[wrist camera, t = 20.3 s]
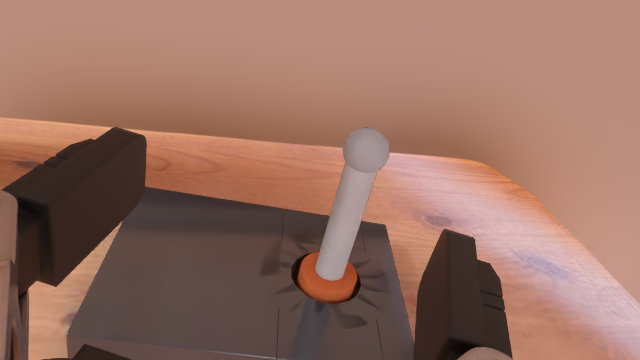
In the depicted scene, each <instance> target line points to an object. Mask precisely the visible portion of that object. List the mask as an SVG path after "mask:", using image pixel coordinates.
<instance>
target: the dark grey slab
mask: <svg viewBox="0 0 640 360" xmlns="http://www.w3.org/2000/svg"><path fill="white" fill-rule="evenodd" d="M329 218H330V216H327V215H320V214H314V213H308V212H301V211H295V210H289V209H282V208H276V207H270V206H264V205H257V204H251V203H245V202H238V201H232V200H226V199H219V198H213V197H207V196H200V195H194V194H188V193H182V192H175V191H169V190H163V189H156V188H150V187H145V188H144V192H143V195H142V198H141V200H140V202H139V204H138V205H137V206H136V207H135V208H134V209H133V210H132V211H131V212H130V213H129V214H128V215H127V216H126V217H125V218H124V220H123V222H122V224H121V226H120V228H119V230H118V232H117V234H116V236H115V238H114V240H113V242H112V244H111V246H110V248H109V250H108V252H107V254H106V256H105V258H104V260H103V262H102V264H101V266H100V268H99V270H98V272H97V274H96V276H95V278H94V280H93V282H92V284H91V286H90V288H89V290H88V292H87V294H86V296H85V298H84V300H83V302H82V304H81V306H80V308H79V310H78V312H77V314H76V316H75V318H74V320H73V322H72V324H71V326H70V328H69V330H68V332H67V334H66V337H67V351H68V358H73V357H74V356H75V355H76V353H77V352H78V351H79V350H80V348H81V347H82V346H83V345H84V343H85V344H88V345H91V346H94V347H97V348H99V349H102V350H105V351H108V352H111V353H114V354H117V355H120V356H123V357H126V358H129V359H132V360H413V359H414V342H413V338H412V333H411V329H410V325H409V321H408V317H407V312H406V308H405V304H404V300H403V296H402V292H401V287H400V283H399V279H398V275H397V271H396V267H395V262H394V258H393V254H392V250H391V246H390V241H389V237H388V233H387V229H386V225H384V224H377V223H371V222H365V221H361V223H360V226H359V229H358V232H357V235H356V238H355V241H354V244H353V247H352V250H351V253H350V256H349V259H348V261H349V262H350V263H351V264H352V265H353V267H354V268H355V270H356V273H357V282H356V285H355V287H354V290H353V293H352V296H351V298H352V299H351V300H350V301H347V302H342V303H337V304H333V303H325V302H319V301H317V300H315V299H313V298H310V297H308V296H307V295H305V294H304V293H303V292H302V291H301V290H300V289H298V288H297V287H296V285H295V283H294V281H293V280H294V279H296V278H298V274H299V270H300V267H301V263H302V261H303V260H304V258H305V257H306V256H308V255H310V254H312V253H315V252H320V249H321V246H322V242H323V239H324V235H325V232H326V228H327V225H328V221H329Z"/></svg>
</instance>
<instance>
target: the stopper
mask: <svg viewBox="0 0 640 360" xmlns="http://www.w3.org/2000/svg"><path fill="white" fill-rule="evenodd" d="M389 153H390V148H389V143H388V141H387V139H386V138H385V136H384V135H383V134H382V133H381V132H380V131H378V130H376V129H373V128H367V127H365V128H360V129H357V130H355V131H353V132H352V133H351V134H350V135H349V136H348V137H347V139H346V141H345V143H344V147H343V155H344V159H345V161H346V162H345V165H344V169H343V172H342V176H341V179H340V183H339V186H338V190H337V193H336V197H335V200H334V204H333V207H332V211H331V214H330V218H329V221H328V225H327V228H326V232H325V235H324V239H323V242H322V246H321V249H320V252H315V253H312V254H310V255H308V256H306V257H305V258H304V260H303V261H302V263H301V267H300V270H299V274H298V278H297V282H296V287H297V288H298V289H300V290H301V291H302V292H303V293H304V294H305V295H307V296H308V297H310V298H313V299H315V300H317V301H319V302H325V303H333V304H337V303H342V302H347V301H350V299H351V296H352V293H353V290H354V287H355V285H356V282H357V273H356V270H355V268H354V267H353V265H352V264H351V263H350V262H349V261H348V259H349V256H350V253H351V250H352V247H353V244H354V241H355V238H356V235H357V232H358V229H359V226H360V223H361V220H362V217H363V214H364V211H365V208H366V205H367V202H368V199H369V196H370V193H371V189H372V186H373V183H374V180H375V177H376V174H377V171H378V170H380V169H381V168H382V167H383V166H384V165H385V164H386V162H387V160H388V158H389Z"/></svg>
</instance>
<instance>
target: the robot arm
mask: <svg viewBox="0 0 640 360" xmlns="http://www.w3.org/2000/svg"><path fill="white" fill-rule="evenodd" d="M146 147H147V143H146V138H145V137H144V136H143V135H141V134H137V133H134V132H131V131H128V130H124V129H121V128H118V127H114V128H112V129H110V130H109V131H107V132H106V133H104V134H103V135H102V136H100V137H99V138H97V139H96V140H93V139H88V140H85V141H82V142H78V143H75V144H72V145H70V146H68V147H66V148H65V149H63V150H62V151H60V152H59V153H57V154H56V156H55V157H54V156H53V157H51V158H50V159H48V160H47V161H45V162H44V164H43V165H42V164H41V165H39V166H37V167H36V168H34V169H33V170H31V171H30V172H28V173H27V174H25V175H24V176H22V177H21V178H19V179H18V180H16V181H15V182H13V183H12V184H10V185H8V186H7V187H5V188H4V189H2V190H0V360H28V336H29V292H28V288H29V287H30V286H31V285H32V284H33V283H34V282H35V281H40V282H43V283H46V284H49V285H52V286H55V287H57V286H58V285H59V284H60V283H61V282H62V281H63V280H64V279H65V278H66V277H67V276H68V275H69V274H70V273H71V272H72V271H73V270H74V269H75V268H76V267H77V266H78V265H79V264H80V263H81V262H82V261H83V260H84V259H85V258H86V257H87V256H88V255H89V254H90V253H91V252H92V251H93V250H94V249H95V248H96V247H97V246H98V245H99V244H100V243H101V242H102V241H103V240H104V239H105V238H106V237H107V236H108V235H109V233H111V232H112V230H113V229H114V228H115V227H116V226H117V225H118V224H119V223H120V222H121V221H122V220H123V219H124V218H125V217H126V216H127V215H128V214H129V213H130V212H131V211H132V210H133V209H134V208H135V207H136V206H137V205H138V204H139V202H140V200H141V198H142V195H143V192H144V188H145V172H146ZM502 296H503V294H502V288H501V282H500V279H499V277H498V276H497V274H496V272H495V271H494V269H493V268H492V266H491V265H490V263H487V262H483V261H480V260H477V255H476V245H475V239H474V238H473V237H470V236H467V235H463V234H460V233H457V232H454V231H450V230H447V229H444V230H443V232H442V233H441V235H440V237H439V240H438V242H437V244H436V246H435V249H434V251H433V253H432V255H431V258H430V260H429V262H428V264H427V267H426V269H425V271H424V273H423V276H422V279H421V282H420V286H419V290H418V295H417V309H416V326H415V343H414V359H413V360H513V358H512V352H511V345H510V339H509V332H508V326H507V320H506V313H505V312H504V310H505V307H504V301H503V299H502ZM43 360H132V359H129V358H126V357H123V356H120V355H117V354H114V353H111V352H108V351H105V350H102V349H99V348H97V347H94V346H91V345H88V344H85V343H84V345H83V346H82V347H81V348H80V350H79V351H78V352H77V353H76V355H75V356H74V357H73V358H52V359H43Z"/></svg>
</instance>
